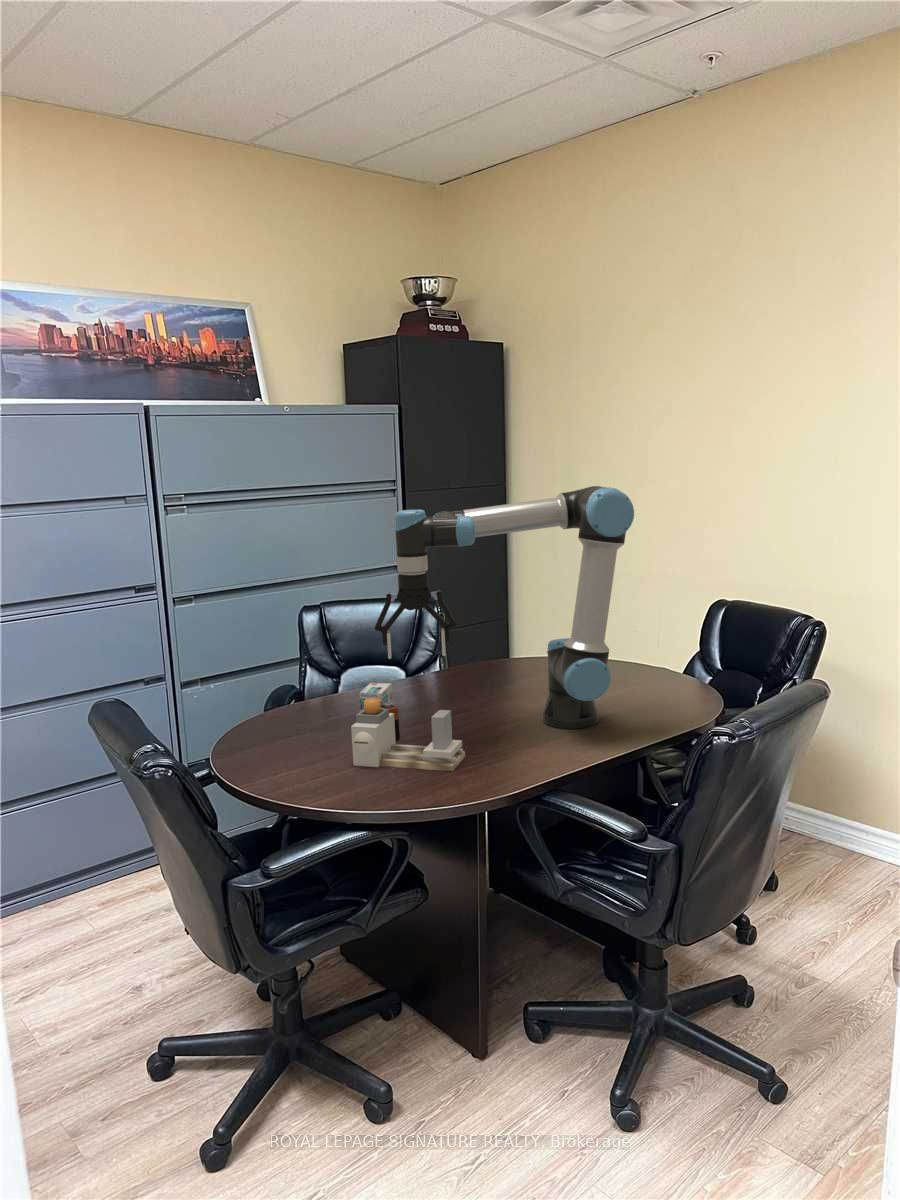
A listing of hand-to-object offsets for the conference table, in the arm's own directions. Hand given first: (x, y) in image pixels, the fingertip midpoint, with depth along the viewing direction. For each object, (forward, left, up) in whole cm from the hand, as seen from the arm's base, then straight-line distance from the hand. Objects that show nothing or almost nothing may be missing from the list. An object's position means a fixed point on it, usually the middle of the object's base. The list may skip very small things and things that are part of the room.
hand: (416, 656), depth 230 cm
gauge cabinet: (+9, +9, -24) cm, 27 cm away
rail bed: (-4, +9, -24) cm, 26 cm away
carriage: (-9, +9, -21) cm, 25 cm away
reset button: (+9, +9, -12) cm, 18 cm away
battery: (+12, -6, -25) cm, 28 cm away
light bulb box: (+19, -17, -25) cm, 36 cm away
